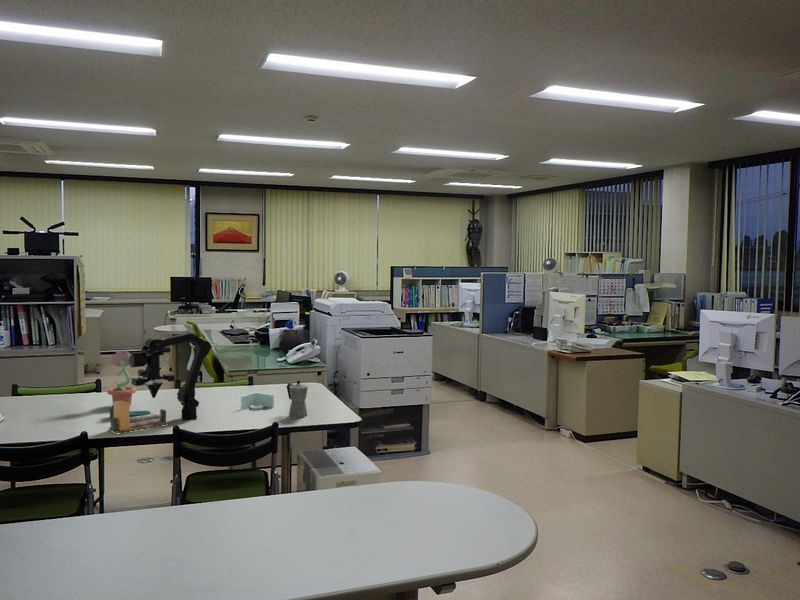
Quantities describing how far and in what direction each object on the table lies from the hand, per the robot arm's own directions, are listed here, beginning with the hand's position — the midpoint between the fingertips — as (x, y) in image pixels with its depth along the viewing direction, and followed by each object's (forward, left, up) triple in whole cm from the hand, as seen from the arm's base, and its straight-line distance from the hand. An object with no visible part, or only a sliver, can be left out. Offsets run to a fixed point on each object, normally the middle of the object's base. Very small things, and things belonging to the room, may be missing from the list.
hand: (153, 397), depth 296 cm
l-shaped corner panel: (-49, -23, -14) cm, 56 cm away
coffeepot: (-68, -5, -13) cm, 69 cm away
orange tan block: (+13, +7, -12) cm, 19 cm away
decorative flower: (+19, -39, -13) cm, 46 cm away
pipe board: (+6, +3, -13) cm, 15 cm away
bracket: (+12, -17, -14) cm, 25 cm away
